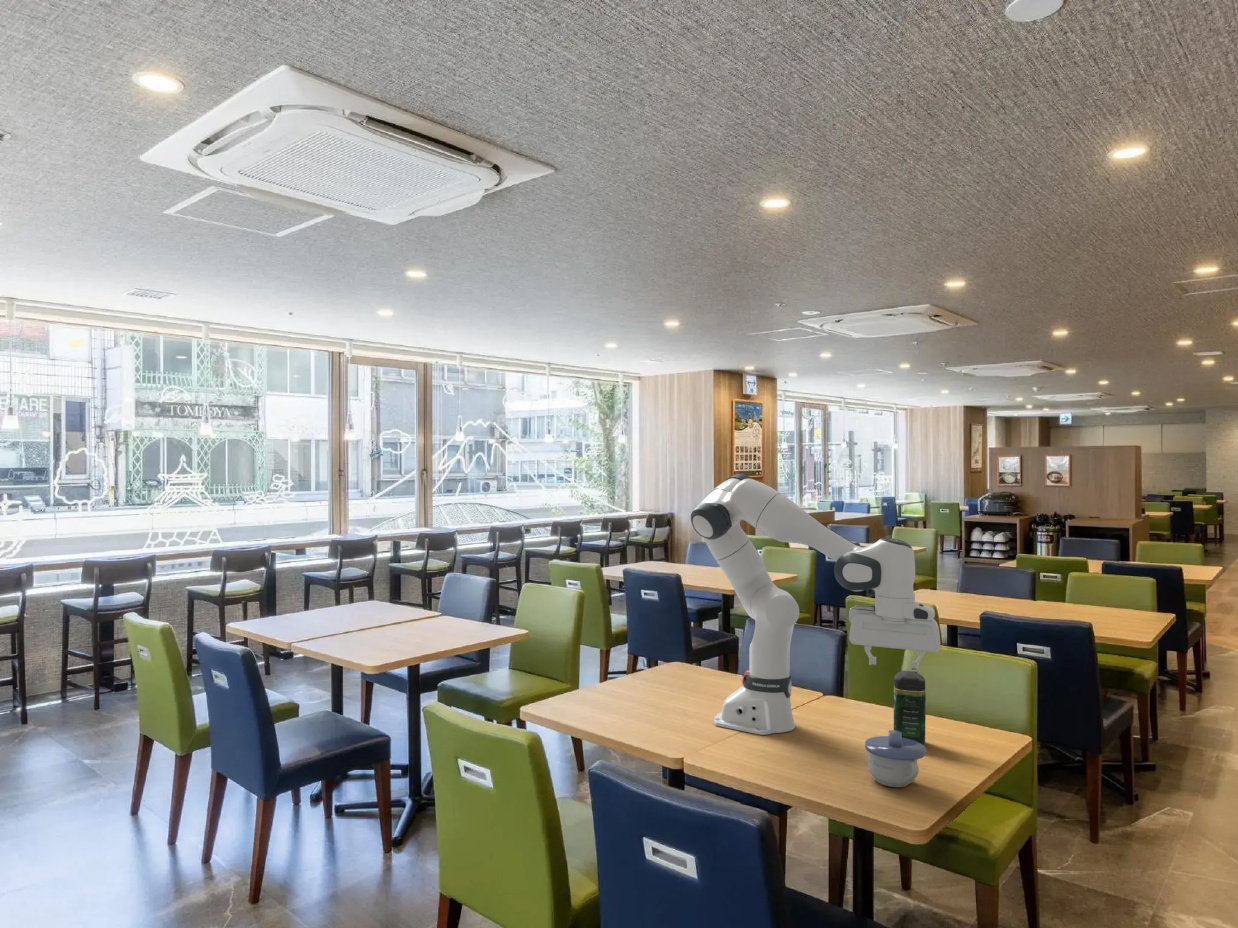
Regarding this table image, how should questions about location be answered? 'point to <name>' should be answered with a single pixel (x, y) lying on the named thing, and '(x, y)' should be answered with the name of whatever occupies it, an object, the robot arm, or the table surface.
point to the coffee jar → (910, 705)
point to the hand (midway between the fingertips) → (893, 666)
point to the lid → (895, 747)
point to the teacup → (892, 770)
